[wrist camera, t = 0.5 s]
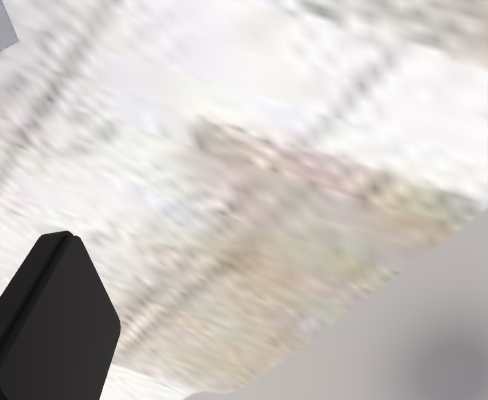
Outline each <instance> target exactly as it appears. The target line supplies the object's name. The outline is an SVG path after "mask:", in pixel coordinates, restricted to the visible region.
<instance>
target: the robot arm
mask: <svg viewBox="0 0 488 400" xmlns="http://www.w3.org/2000/svg"><path fill="white" fill-rule="evenodd" d="M120 330H121V326H120V320H119V317H118V315H117V313H116V311H115V309H114V307H113V305H112V303H111V300H110V298H109V296H108V294H107V292H106V290H105V288H104V286H103V284H102V282H101V280H100V277H99V275H98V273H97V271H96V269H95V267H94V265H93V263H92V261H91V259H90V257H89V254H88V252H87V250H86V248H85V246H84V244H83V242H82V240H81V238H80V237H79V236H73V234H72V233H71V232H69V231H61V232H55V233H49V234H44V235H41V236H40V237H39V239H38V240H37V242H36V243H35V245H34V246H33V248H32V249H31V251H30V252H29V254H28V255H27V257H26V258H25V260H24V261H23V263H22V264H21V266H20V268H19V269H18V271H17V272H16V274H15V275H14V277H13V278H12V280H11V281H10V283H9V284H8V286H7V287H6V289H5V290H4V292H3V293H2V295H1V296H0V400H99V399H100V396H101V392H102V389H103V386H104V383H105V380H106V377H107V373H108V370H109V367H110V364H111V361H112V358H113V355H114V351H115V348H116V345H117V342H118V339H119V336H120Z"/></svg>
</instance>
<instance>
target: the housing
mask: <svg viewBox="0 0 488 400" xmlns="http://www.w3.org/2000/svg"><path fill="white" fill-rule="evenodd" d="M17 42H19V40H18V38H17V36H16V33H15V31H14V29H13V26H12V24H11V22H10V19H9V17H8V14H7V12H6V10H5V7H4V5H3V3H2V0H0V51H2V50H4V49H6V48H8V47H9V46H11V45H13V44H15V43H17Z"/></svg>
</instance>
